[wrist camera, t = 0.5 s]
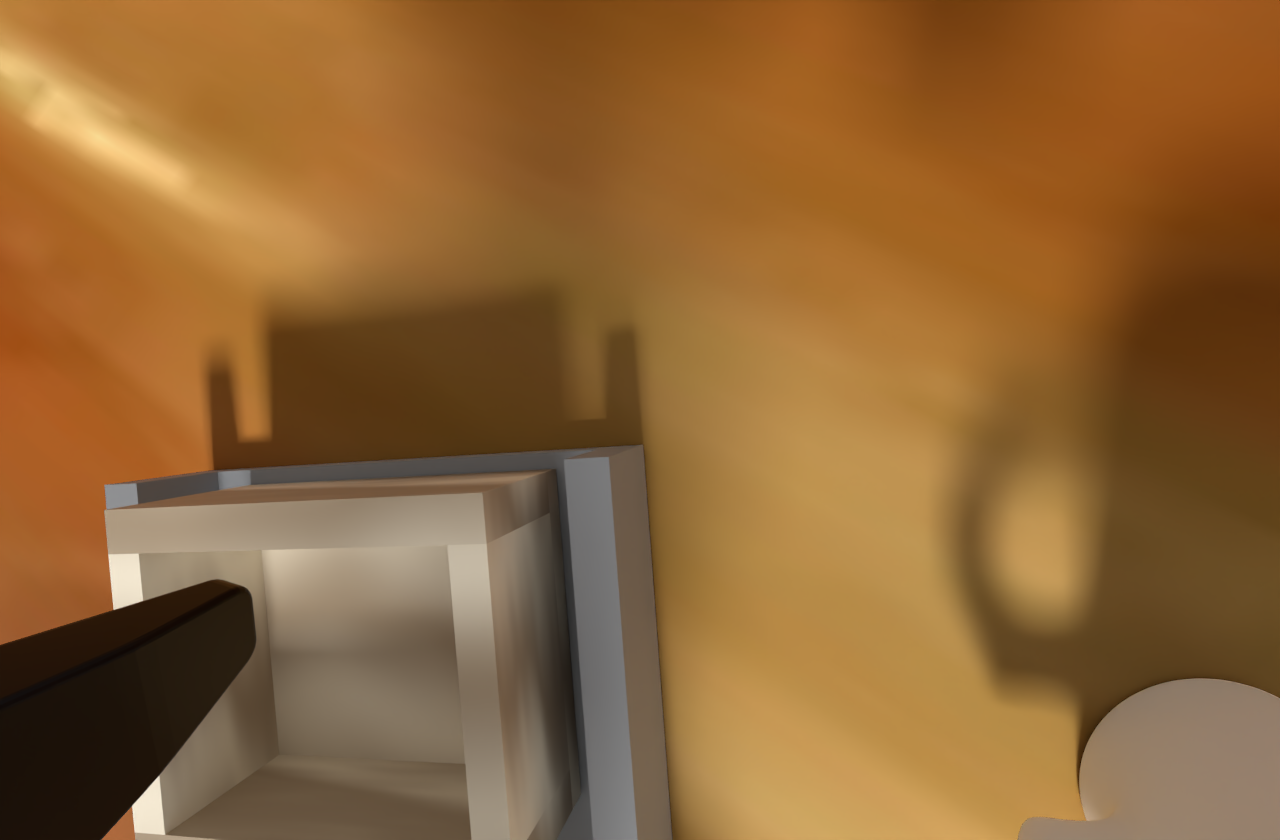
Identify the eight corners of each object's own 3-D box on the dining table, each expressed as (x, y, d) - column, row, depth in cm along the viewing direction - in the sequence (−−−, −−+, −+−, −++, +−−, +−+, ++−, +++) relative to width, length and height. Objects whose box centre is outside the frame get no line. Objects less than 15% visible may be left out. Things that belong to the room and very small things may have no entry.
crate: (581, 793, 21) (516, 914, 16) (274, 776, 24) (138, 875, 19) (556, 468, 21) (482, 492, 16) (248, 485, 23) (104, 509, 19)
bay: (689, 1073, 22) (666, 1220, 18) (261, 1009, 26) (164, 1120, 22) (643, 444, 21) (608, 457, 18) (212, 470, 25) (104, 484, 21)
